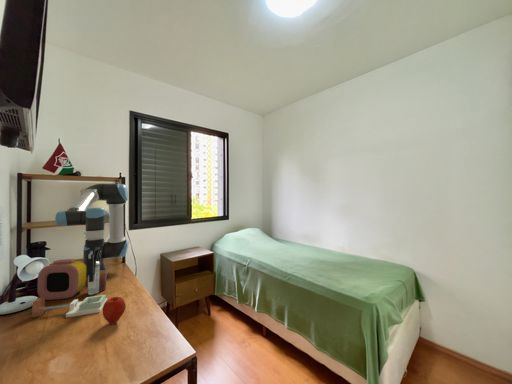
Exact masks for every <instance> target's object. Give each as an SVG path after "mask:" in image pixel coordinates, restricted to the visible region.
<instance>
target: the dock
mask: <svg viewBox="0 0 512 384" xmlns="http://www.w3.org/2000/svg"><path fill="white" fill-rule="evenodd" d="M107 300H108V297H107V294H101V295H94V296H92V295H91V296H87V297H85V298H84V299H83V300H82V301H79V298H77V299H76V298H75V299H73V300H72V301H71V302H70V303H69V304H70V306H69V310H68V311H67V312H66V313H65V318H71V317H77V316H78V317H79V316H83V315H84V316H85V315H90V314H91V315H92V314H97V313H98V314H99V313H101V312H102V311H103V306H104V303H105V302H106V301H107ZM75 303H78V304H77V305H75Z"/></svg>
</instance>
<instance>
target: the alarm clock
mask: <svg viewBox="0 0 512 384" xmlns="http://www.w3.org/2000/svg"><path fill="white" fill-rule="evenodd" d="M86 274H87V266H86V265H85V263H84V262H83V261H81V260H78V259H73V258H72V259H69V258H68V259H67V258H66V259H57V260H54V261H53V262H52V264H50V265H46V266H44V267H43V268H42V269H40V271H39V272H38V275H37V288H36V289H37V291H36V292H37V295H38V296H39V298H42V297H45V301H52V300H53V301H54V300H65V299H70V298H72V297H74V296H75V295H76V294H77V293H78V292H80V291H82V290H84V288H85V287H86V285H85V281H86V279H87V275H86Z"/></svg>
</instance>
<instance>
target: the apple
mask: <svg viewBox="0 0 512 384" xmlns="http://www.w3.org/2000/svg"><path fill="white" fill-rule="evenodd" d="M125 311H126V301H125V299H124V298H123V297H121V296H111V297H110V298H109V299H108V298H107V301H106V302H105V303H104V306H103V308H102V316H103V318H104V320H106V322H107V323H108V324H110V325H115V324H116V323H117V322H118V321H119V320H120V319H121V317H122V316H123V315H124V313H125Z"/></svg>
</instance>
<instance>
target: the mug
mask: <svg viewBox="0 0 512 384" xmlns="http://www.w3.org/2000/svg"><path fill="white" fill-rule="evenodd" d="M108 273H109V271H108V270H107V271H106V270H101V271H99V292H98V293H102V292H103V291H105V290H106V288H107V275H108ZM85 285H86V286H85V287H86V288H87V289H88V278H87V279H86V281H85Z"/></svg>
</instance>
